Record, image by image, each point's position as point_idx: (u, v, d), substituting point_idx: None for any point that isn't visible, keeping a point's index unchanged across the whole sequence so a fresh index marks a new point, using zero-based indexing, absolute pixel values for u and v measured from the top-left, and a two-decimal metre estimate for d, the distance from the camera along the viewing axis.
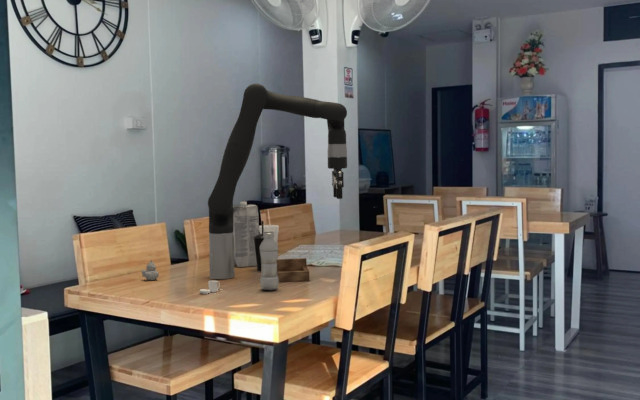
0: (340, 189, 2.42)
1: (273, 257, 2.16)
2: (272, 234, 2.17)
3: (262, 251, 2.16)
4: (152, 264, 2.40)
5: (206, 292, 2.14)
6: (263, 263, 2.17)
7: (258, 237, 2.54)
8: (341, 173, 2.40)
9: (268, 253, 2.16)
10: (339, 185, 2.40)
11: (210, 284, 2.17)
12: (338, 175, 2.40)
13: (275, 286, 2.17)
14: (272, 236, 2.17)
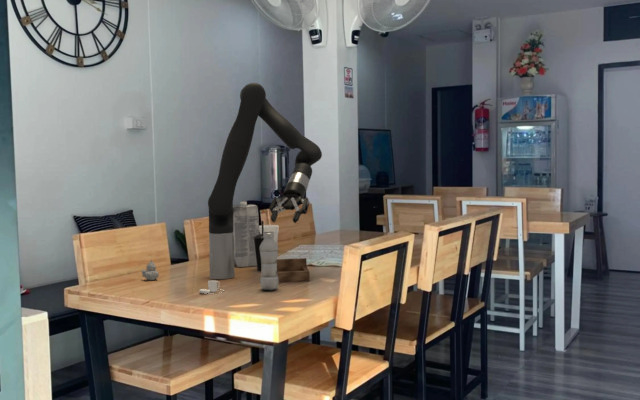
0: (300, 214, 2.29)
1: (273, 257, 2.16)
2: (272, 234, 2.17)
3: (262, 251, 2.16)
4: (152, 264, 2.40)
5: (206, 292, 2.14)
6: (263, 263, 2.17)
7: (258, 237, 2.54)
8: (308, 201, 2.32)
9: (268, 253, 2.16)
10: (304, 209, 2.29)
11: (210, 284, 2.17)
12: (307, 201, 2.31)
13: (275, 286, 2.17)
14: (272, 236, 2.17)
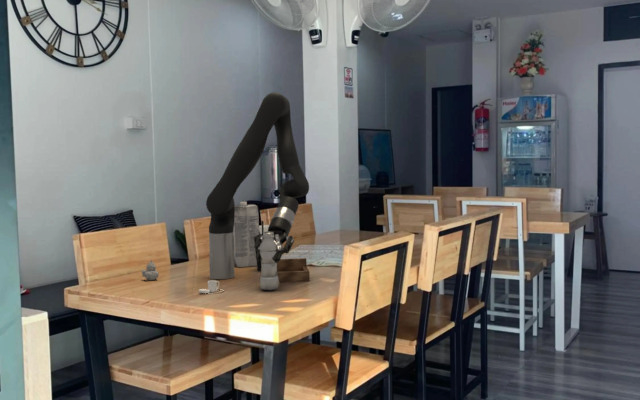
0: (282, 253, 2.18)
1: (273, 257, 2.16)
2: (272, 234, 2.17)
3: (262, 251, 2.16)
4: (152, 264, 2.40)
5: (205, 292, 2.14)
6: (263, 263, 2.17)
7: None
8: (293, 240, 2.21)
9: (267, 253, 2.16)
10: (287, 248, 2.18)
11: (209, 284, 2.17)
12: (291, 240, 2.19)
13: (275, 286, 2.17)
14: (272, 236, 2.17)
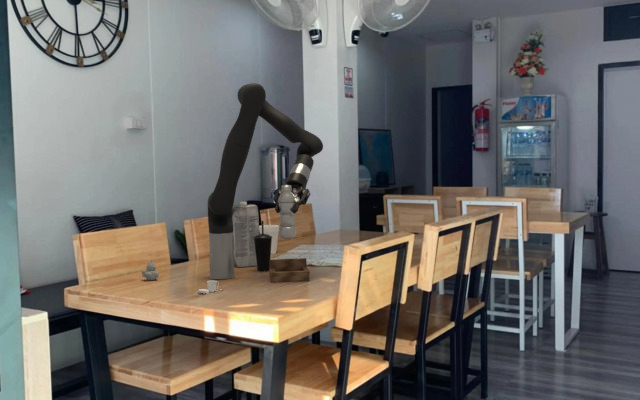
0: (299, 205, 2.36)
1: (291, 208, 2.34)
2: (290, 187, 2.35)
3: (281, 203, 2.34)
4: (152, 264, 2.40)
5: (205, 292, 2.14)
6: (282, 214, 2.35)
7: (258, 237, 2.54)
8: (309, 193, 2.38)
9: (286, 204, 2.34)
10: (303, 200, 2.36)
11: (209, 284, 2.17)
12: (307, 192, 2.37)
13: (293, 235, 2.35)
14: (290, 189, 2.35)
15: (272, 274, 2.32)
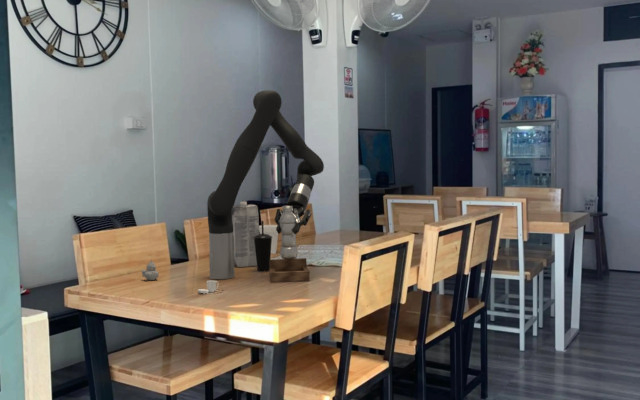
0: (300, 225, 2.37)
1: (292, 228, 2.36)
2: (291, 208, 2.36)
3: (282, 223, 2.35)
4: (152, 264, 2.40)
5: (204, 292, 2.14)
6: (283, 234, 2.36)
7: (258, 237, 2.54)
8: (310, 213, 2.40)
9: (287, 225, 2.35)
10: (304, 221, 2.37)
11: (208, 284, 2.17)
12: (308, 213, 2.39)
13: (294, 255, 2.36)
14: (291, 209, 2.36)
15: (272, 274, 2.32)
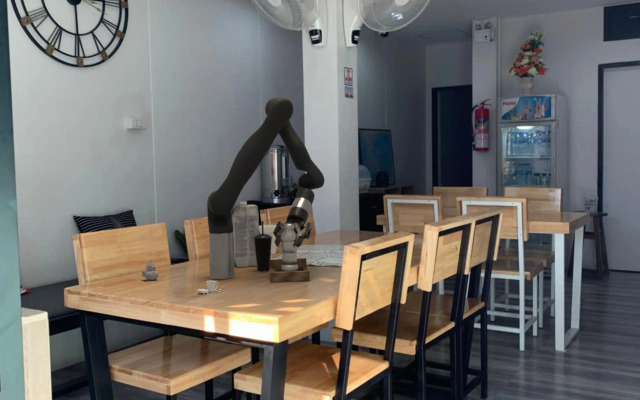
0: (302, 238, 2.37)
1: (293, 246, 2.36)
2: (292, 225, 2.37)
3: (283, 241, 2.36)
4: (152, 264, 2.40)
5: (204, 292, 2.14)
6: (284, 252, 2.37)
7: (258, 237, 2.54)
8: (311, 226, 2.41)
9: (288, 243, 2.36)
10: (307, 234, 2.37)
11: (208, 284, 2.17)
12: (310, 226, 2.39)
13: None
14: (292, 227, 2.37)
15: (272, 274, 2.32)
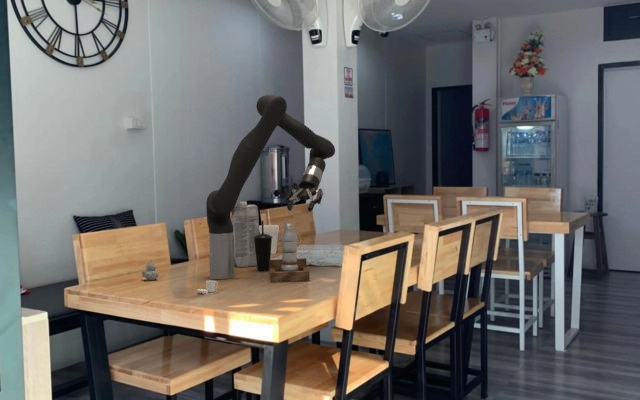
0: (314, 203, 2.48)
1: (293, 246, 2.36)
2: (292, 226, 2.37)
3: (283, 241, 2.36)
4: (152, 264, 2.40)
5: (204, 292, 2.14)
6: (284, 252, 2.37)
7: (258, 237, 2.54)
8: (322, 192, 2.51)
9: (288, 243, 2.35)
10: (319, 199, 2.48)
11: (208, 284, 2.17)
12: (321, 192, 2.50)
13: None
14: (292, 227, 2.37)
15: (272, 274, 2.32)
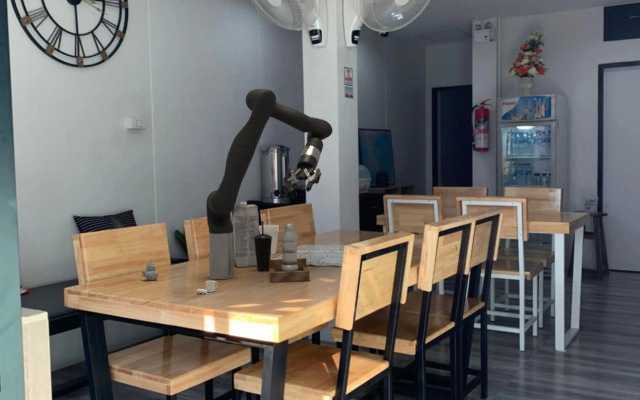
0: (312, 183, 2.46)
1: (293, 246, 2.36)
2: (292, 226, 2.37)
3: (284, 241, 2.36)
4: (152, 264, 2.40)
5: (203, 292, 2.14)
6: (284, 252, 2.37)
7: (258, 237, 2.54)
8: (320, 172, 2.50)
9: (288, 243, 2.36)
10: (317, 179, 2.46)
11: (207, 284, 2.17)
12: (319, 172, 2.48)
13: None
14: (292, 227, 2.37)
15: (272, 274, 2.32)
